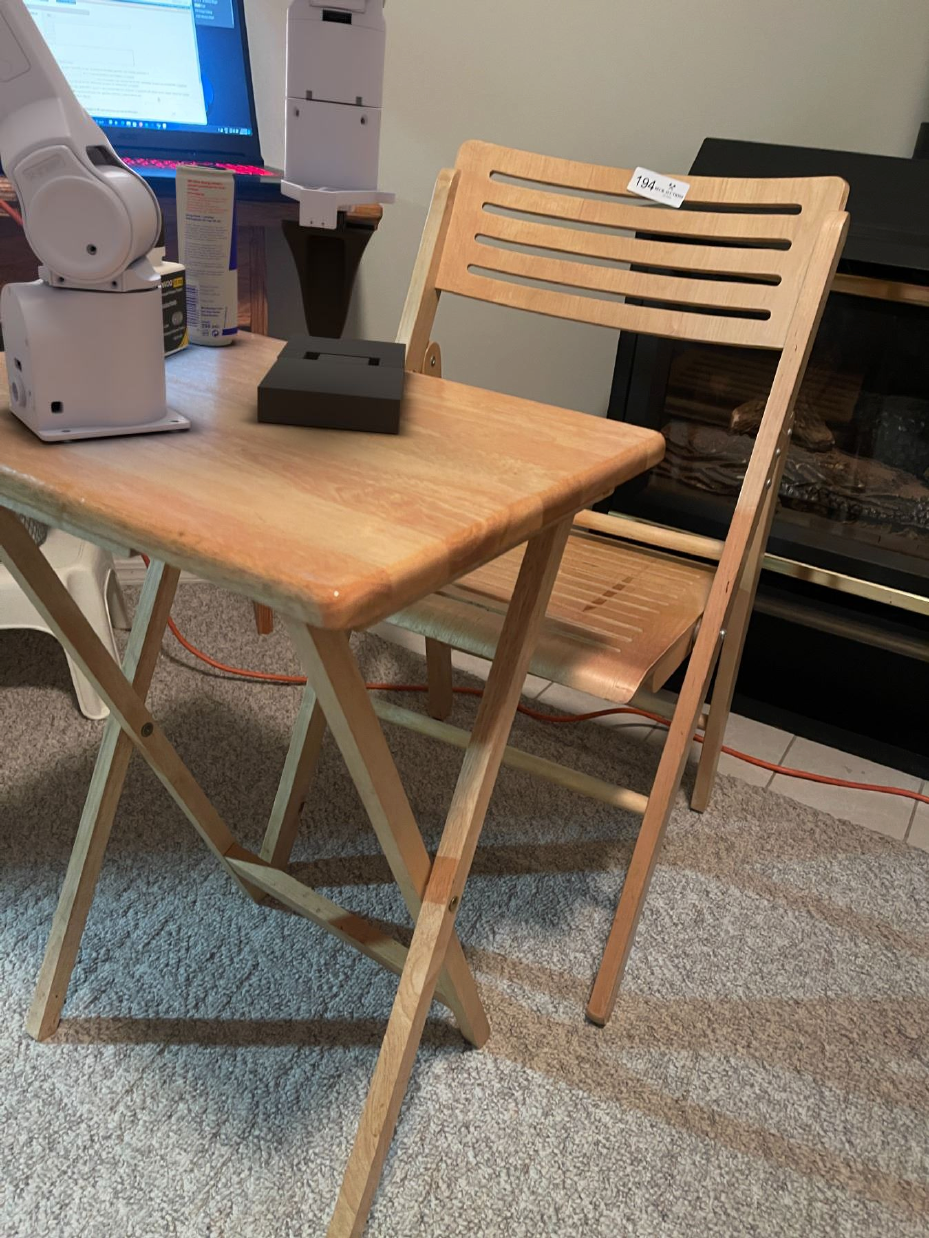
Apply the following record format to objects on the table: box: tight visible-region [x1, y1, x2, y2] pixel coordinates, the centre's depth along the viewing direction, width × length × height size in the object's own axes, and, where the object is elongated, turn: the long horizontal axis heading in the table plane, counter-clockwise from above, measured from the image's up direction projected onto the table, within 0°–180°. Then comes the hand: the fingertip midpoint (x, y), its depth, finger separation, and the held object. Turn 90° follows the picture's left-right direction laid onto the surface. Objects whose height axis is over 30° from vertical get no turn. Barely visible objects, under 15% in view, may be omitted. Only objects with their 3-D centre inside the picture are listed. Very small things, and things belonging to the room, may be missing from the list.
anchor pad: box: [276, 332, 407, 370], centre depth 79 cm, size 10×10×2 cm
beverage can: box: [175, 163, 239, 347], centre depth 85 cm, size 5×5×15 cm
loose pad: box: [256, 354, 406, 435], centre depth 72 cm, size 12×10×2 cm
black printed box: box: [147, 208, 189, 358], centre depth 79 cm, size 7×7×12 cm
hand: (325, 336), depth 62 cm, fingers closed
